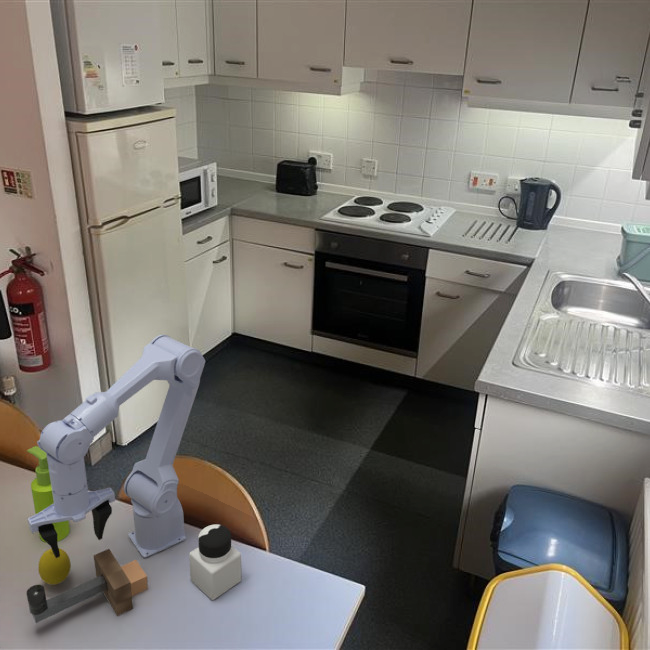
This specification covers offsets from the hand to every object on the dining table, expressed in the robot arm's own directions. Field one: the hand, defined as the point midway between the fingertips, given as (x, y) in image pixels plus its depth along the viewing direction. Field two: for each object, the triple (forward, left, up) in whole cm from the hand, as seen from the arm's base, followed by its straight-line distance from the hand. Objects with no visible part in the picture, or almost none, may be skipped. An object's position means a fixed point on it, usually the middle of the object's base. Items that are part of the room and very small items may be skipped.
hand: (77, 544), depth 116 cm
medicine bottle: (-21, +13, -11) cm, 27 cm away
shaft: (+3, +5, -7) cm, 9 cm away
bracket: (-4, +5, -10) cm, 12 cm away
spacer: (-8, +5, -10) cm, 14 cm away
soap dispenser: (0, -18, -11) cm, 21 cm away
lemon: (+4, -4, -11) cm, 12 cm away
